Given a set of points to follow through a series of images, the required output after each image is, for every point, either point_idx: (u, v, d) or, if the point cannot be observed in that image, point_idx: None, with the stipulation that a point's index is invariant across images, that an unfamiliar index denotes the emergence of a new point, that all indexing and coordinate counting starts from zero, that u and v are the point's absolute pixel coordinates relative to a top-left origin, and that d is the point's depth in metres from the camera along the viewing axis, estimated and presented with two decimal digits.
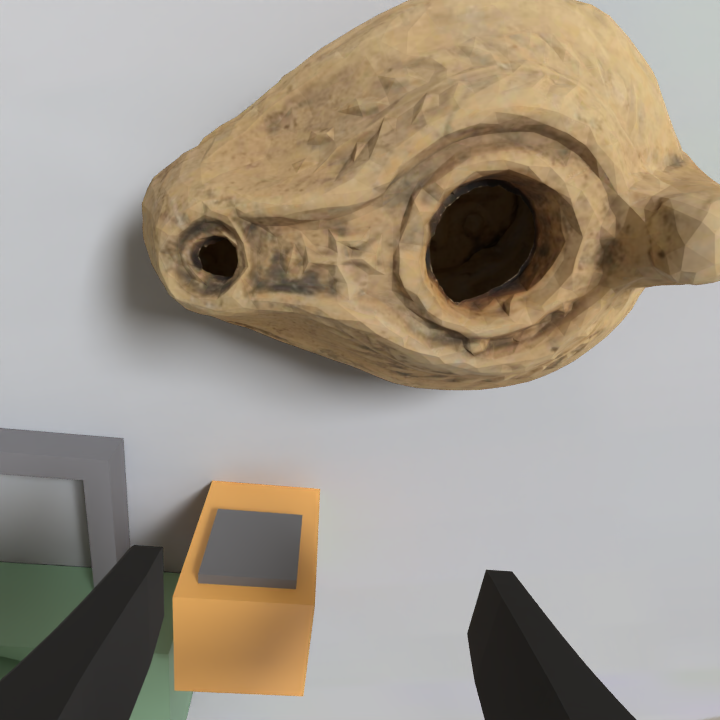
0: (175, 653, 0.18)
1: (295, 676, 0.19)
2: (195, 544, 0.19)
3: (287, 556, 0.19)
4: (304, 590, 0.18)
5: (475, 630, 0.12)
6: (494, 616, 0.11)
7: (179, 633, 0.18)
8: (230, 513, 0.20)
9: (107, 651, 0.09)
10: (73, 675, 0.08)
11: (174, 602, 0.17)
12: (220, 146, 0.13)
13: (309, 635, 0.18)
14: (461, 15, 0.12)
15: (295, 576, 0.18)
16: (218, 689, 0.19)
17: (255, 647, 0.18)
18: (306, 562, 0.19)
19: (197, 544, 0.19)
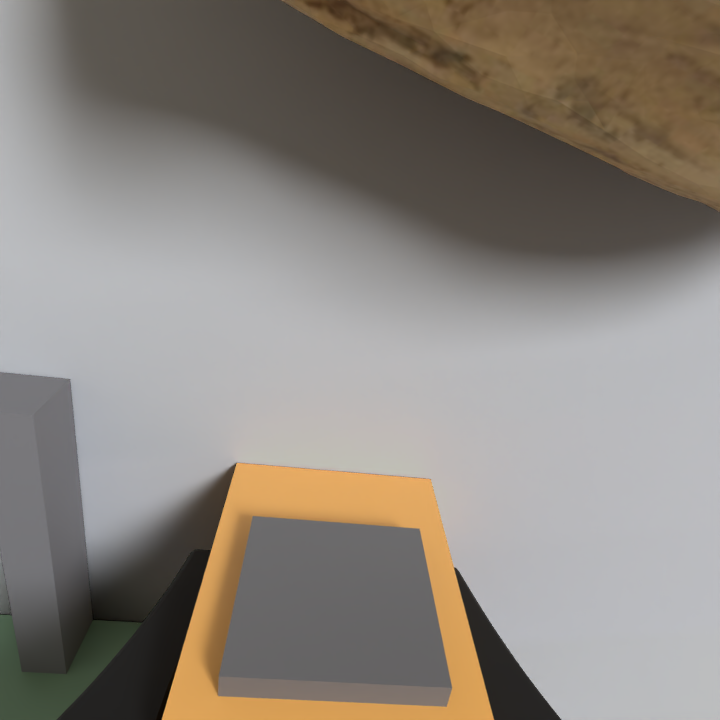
0: None
1: None
2: (209, 593, 0.09)
3: (414, 623, 0.08)
4: (467, 710, 0.08)
5: None
6: None
7: None
8: (279, 525, 0.10)
9: None
10: (161, 679, 0.08)
11: None
12: None
13: None
14: None
15: (446, 677, 0.08)
16: None
17: None
18: (449, 634, 0.09)
19: (213, 593, 0.09)
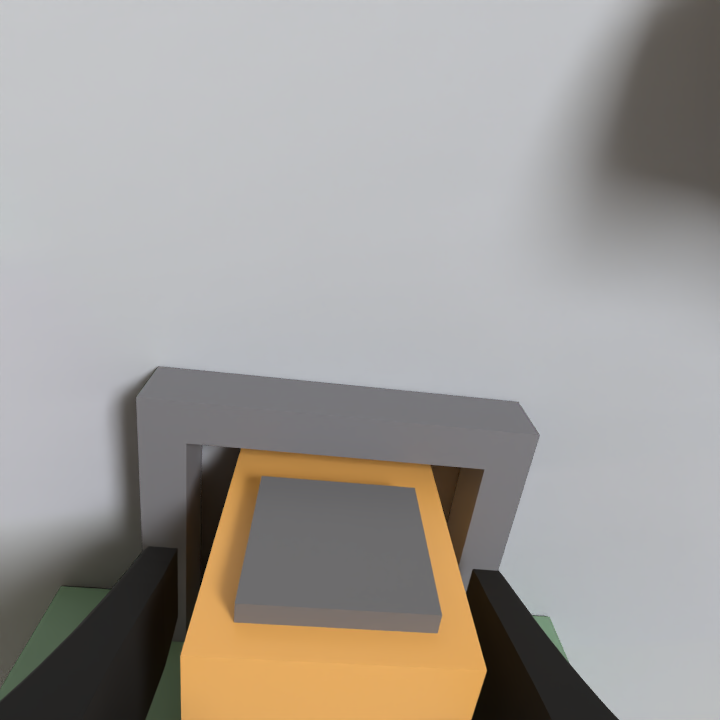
0: None
1: None
2: (223, 541, 0.10)
3: (409, 564, 0.09)
4: (455, 636, 0.09)
5: None
6: (480, 615, 0.11)
7: None
8: (285, 484, 0.11)
9: (126, 652, 0.09)
10: (94, 676, 0.08)
11: (184, 667, 0.08)
12: None
13: None
14: None
15: (437, 606, 0.09)
16: None
17: None
18: (441, 576, 0.10)
19: (227, 541, 0.10)
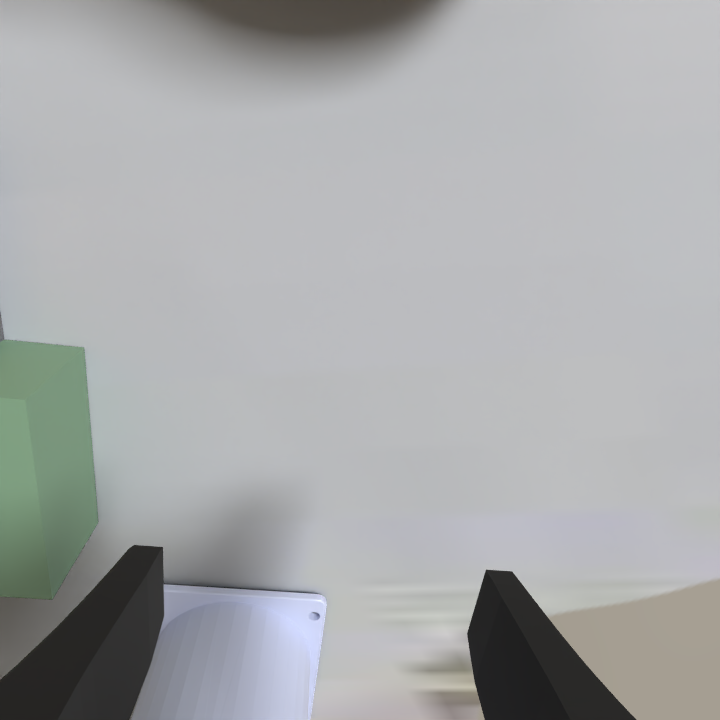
0: None
1: None
2: None
3: None
4: None
5: (475, 630, 0.12)
6: (494, 616, 0.11)
7: None
8: None
9: (107, 651, 0.09)
10: (73, 675, 0.08)
11: None
12: None
13: None
14: None
15: None
16: None
17: None
18: None
19: None
